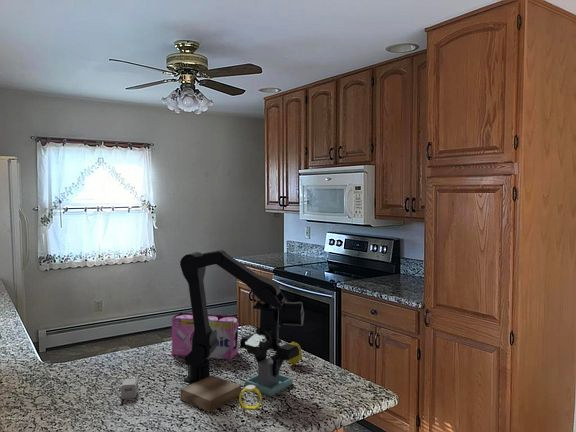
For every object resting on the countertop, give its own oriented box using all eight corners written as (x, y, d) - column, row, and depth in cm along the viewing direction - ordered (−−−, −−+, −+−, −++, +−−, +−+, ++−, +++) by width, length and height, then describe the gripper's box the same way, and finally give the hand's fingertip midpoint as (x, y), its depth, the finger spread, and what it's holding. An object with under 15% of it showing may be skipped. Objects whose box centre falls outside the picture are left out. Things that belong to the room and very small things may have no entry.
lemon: (300, 368, 149) (300, 344, 149) (283, 367, 151) (283, 343, 150) (302, 362, 155) (303, 339, 154) (287, 361, 156) (287, 338, 156)
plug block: (258, 385, 135) (258, 362, 135) (268, 379, 139) (268, 357, 139) (268, 388, 133) (268, 365, 132) (278, 383, 137) (279, 360, 136)
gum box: (241, 352, 164) (241, 315, 164) (234, 360, 157) (234, 321, 156) (180, 347, 169) (180, 311, 169) (171, 354, 162) (170, 317, 161)
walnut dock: (180, 399, 127) (180, 388, 127) (211, 384, 136) (211, 375, 136) (210, 411, 120) (210, 400, 119) (241, 395, 129) (241, 385, 129)
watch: (239, 411, 121) (237, 389, 121) (241, 406, 124) (239, 385, 123) (261, 410, 120) (259, 388, 120) (262, 405, 123) (261, 384, 123)
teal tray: (244, 387, 135) (244, 380, 135) (266, 376, 143) (266, 370, 143) (271, 396, 129) (271, 389, 129) (292, 384, 137) (292, 378, 137)
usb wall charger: (121, 399, 127) (120, 385, 127) (125, 388, 134) (125, 375, 133) (135, 398, 128) (135, 384, 127) (139, 387, 134) (139, 374, 134)
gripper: (227, 323, 134) (227, 375, 135) (276, 336, 123) (276, 392, 124) (252, 315, 143) (252, 364, 144) (300, 326, 132) (299, 379, 133)
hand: (268, 374), depth 136 cm, fingers open, 5 cm apart
